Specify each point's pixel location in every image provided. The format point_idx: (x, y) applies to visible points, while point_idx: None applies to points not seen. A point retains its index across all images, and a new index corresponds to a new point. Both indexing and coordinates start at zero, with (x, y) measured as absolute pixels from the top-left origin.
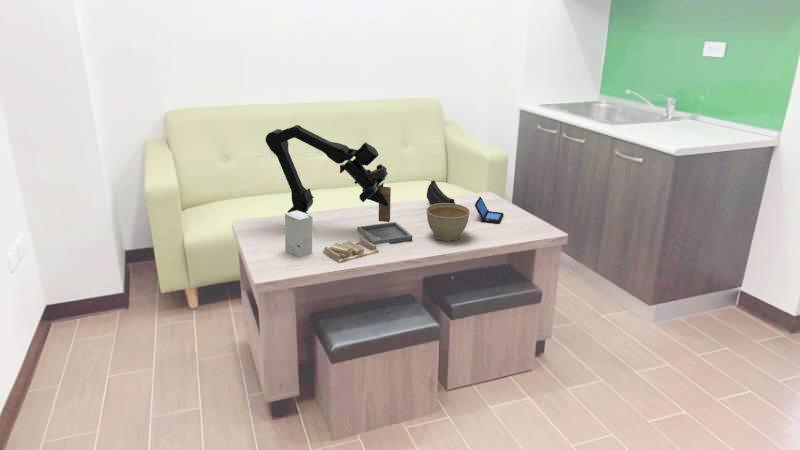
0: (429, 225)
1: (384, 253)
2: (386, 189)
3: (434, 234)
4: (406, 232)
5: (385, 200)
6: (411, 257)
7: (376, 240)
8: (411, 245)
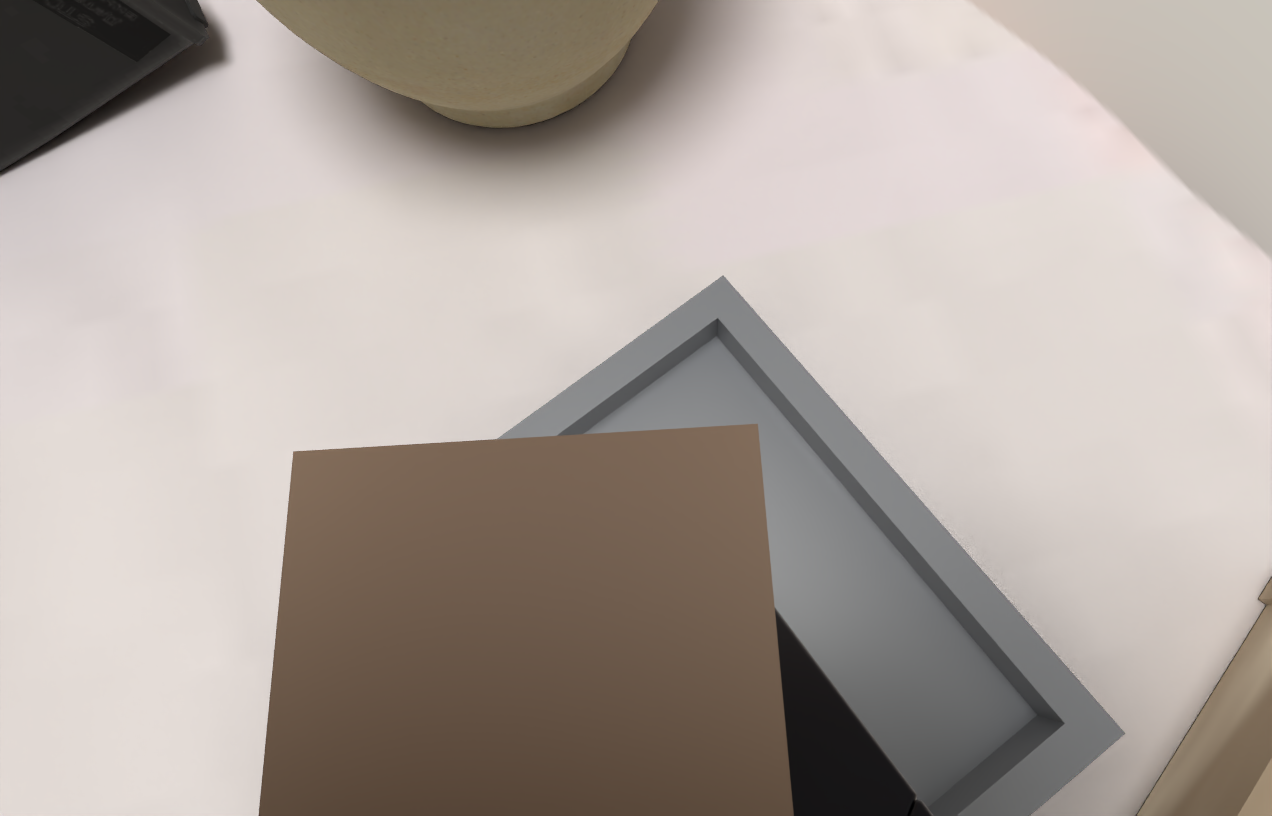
0: (575, 57)
1: (1210, 507)
2: (773, 711)
3: (553, 102)
4: (635, 365)
5: (788, 674)
6: (1172, 206)
7: (1052, 680)
8: (851, 280)
